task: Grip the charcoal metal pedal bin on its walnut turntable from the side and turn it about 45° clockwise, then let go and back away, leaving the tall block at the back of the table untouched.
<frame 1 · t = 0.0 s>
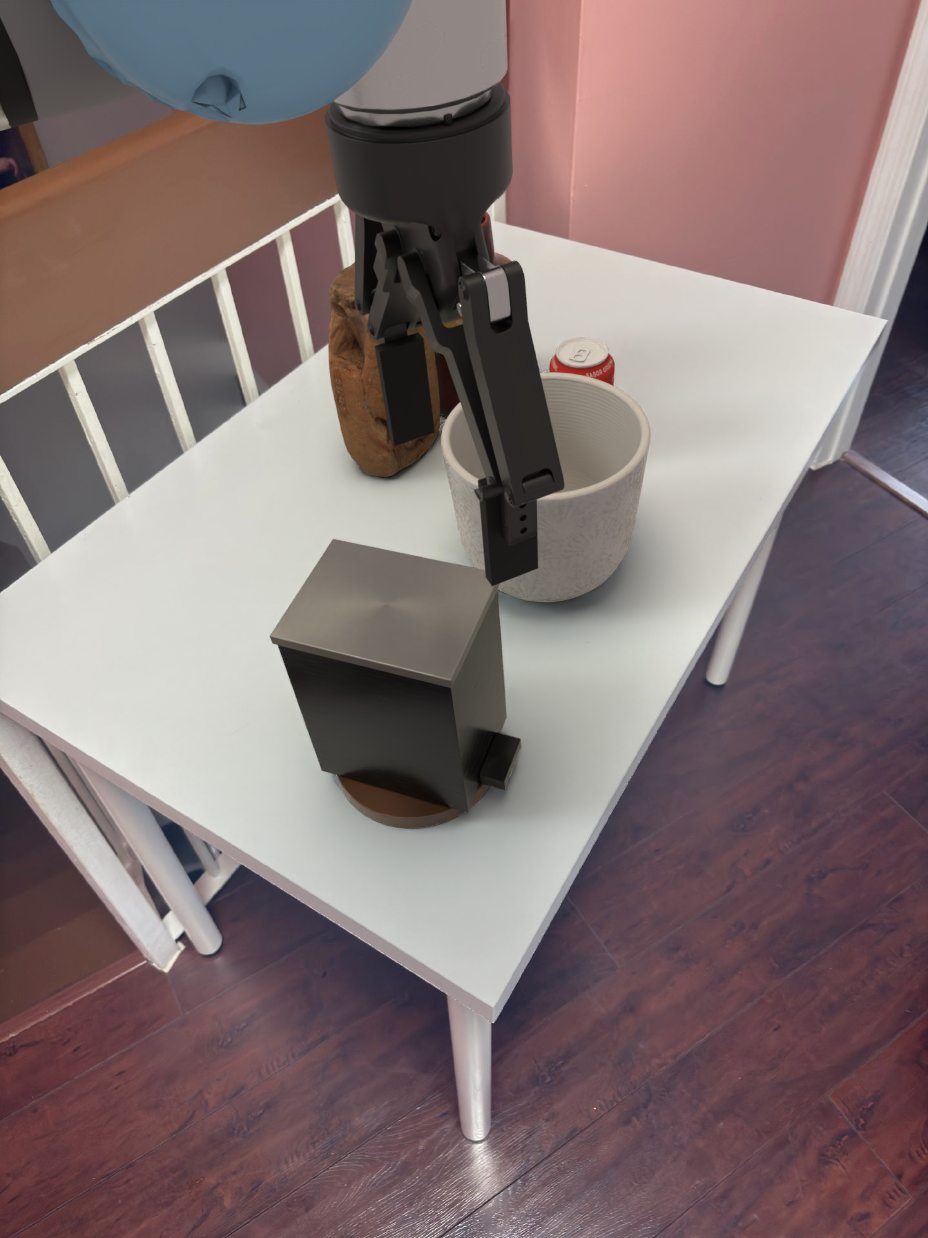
hand: (458, 499, 52), 26 cm above the table, tool pointing down, fingers open, 13 cm apart
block: (396, 453, 98), on the table
planter: (546, 564, 85), on the table
turntable: (417, 755, 72), on the table
beverage can: (579, 453, 96), on the table
vase: (476, 396, 104), on the table
bin: (414, 683, 65), point 10 cm above the table, hinge at 0.0°
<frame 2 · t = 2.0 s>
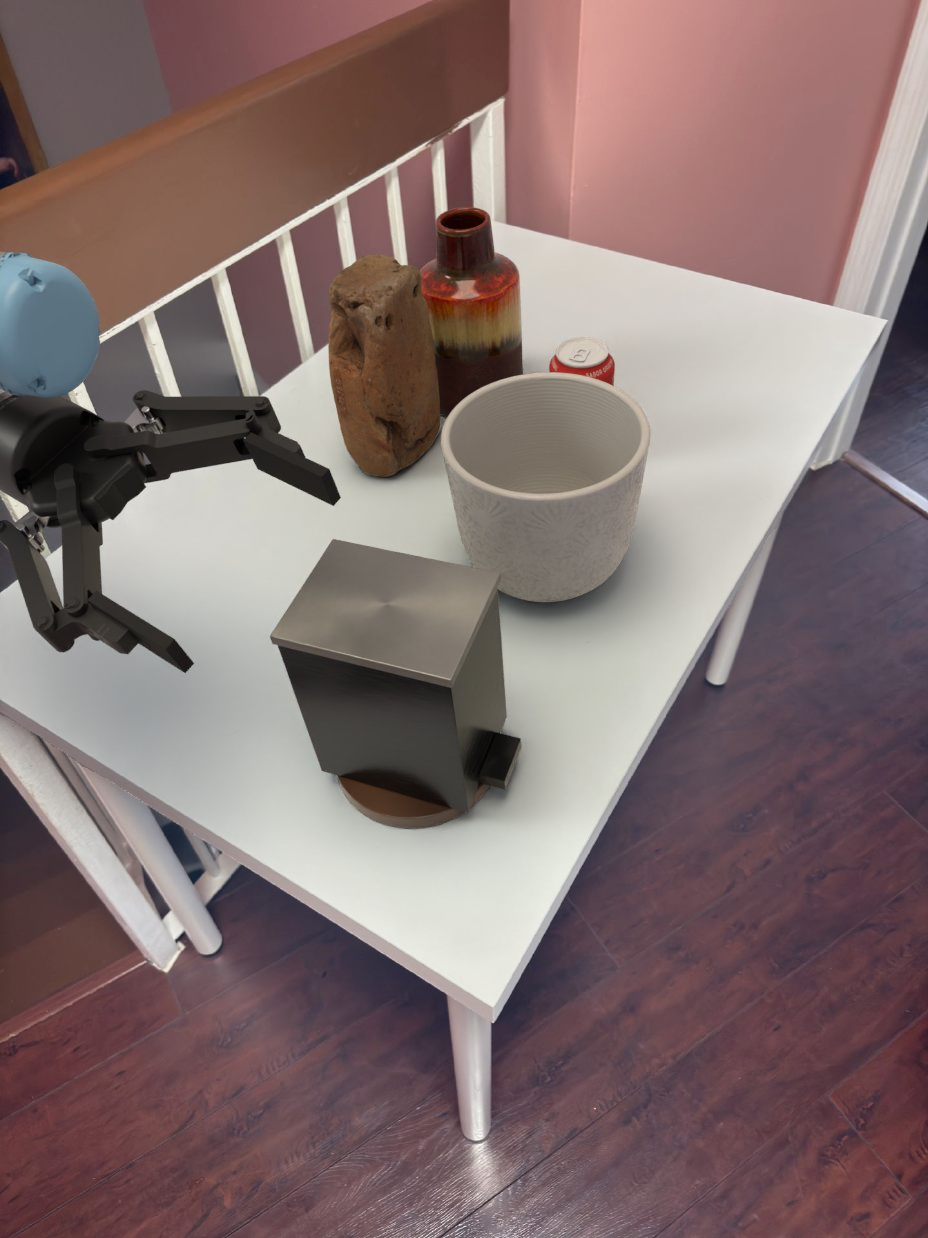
hand: (260, 568, 53), 24 cm above the table, tool horizontal, fingers open, 13 cm apart
nothing on the table moved.
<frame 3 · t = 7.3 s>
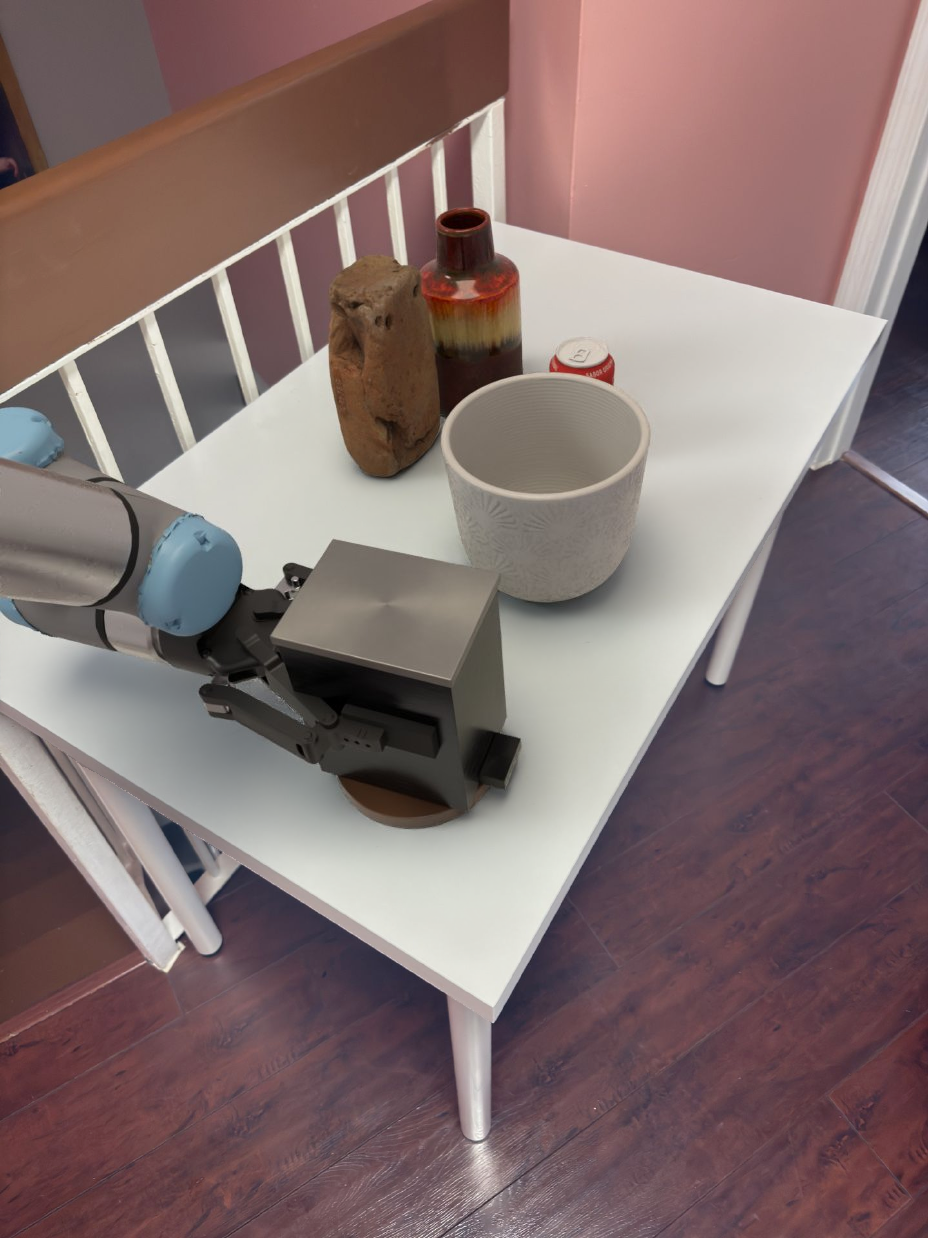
hand: (461, 687, 63), 10 cm above the table, tool horizontal, fingers closed on bin, 9 cm apart
bin: (414, 683, 65), point 10 cm above the table, hinge at 0.1°, touching gripper
everything else where it was.
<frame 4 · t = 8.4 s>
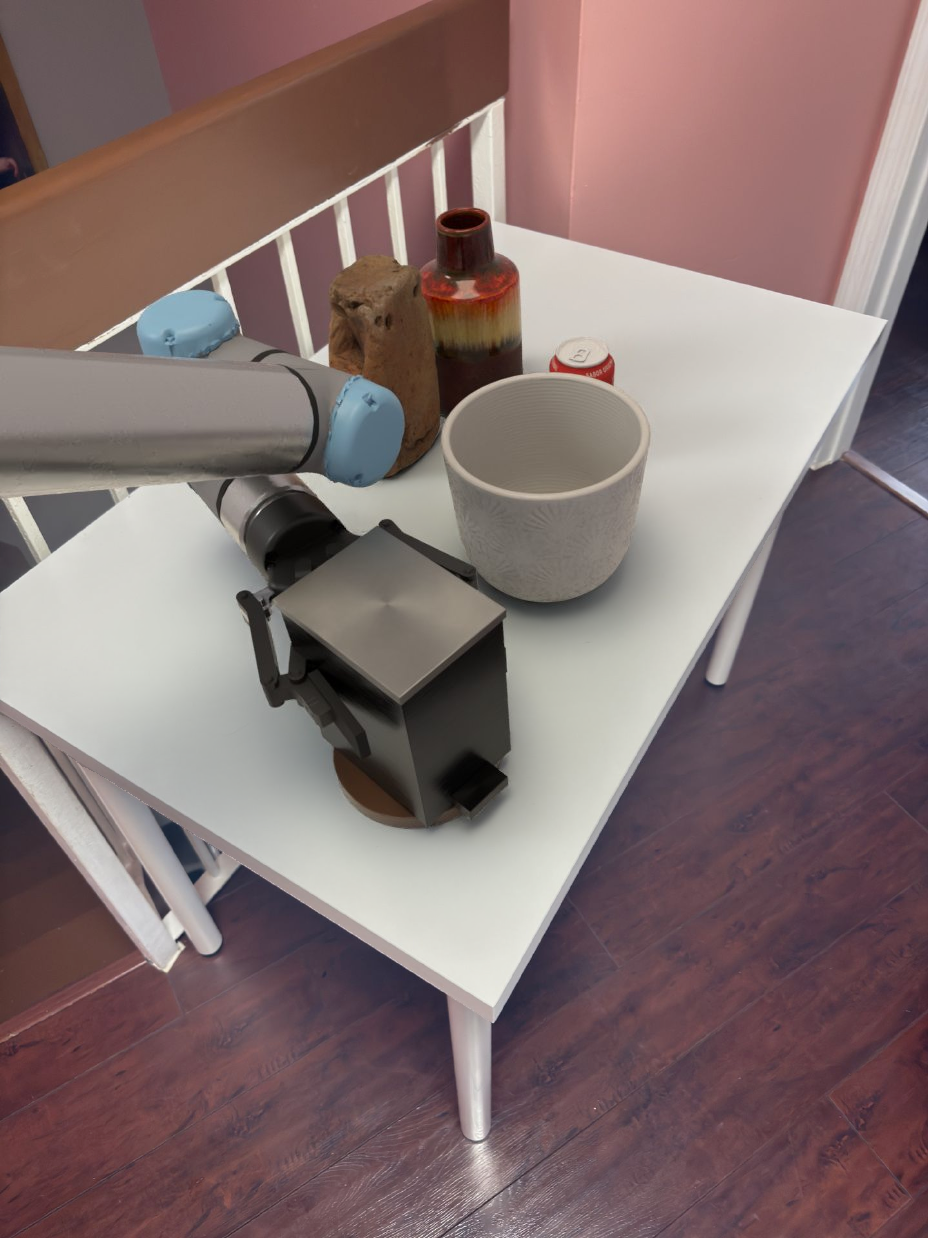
hand: (435, 703, 61), 11 cm above the table, tool horizontal, fingers closed on bin, 10 cm apart
bin: (411, 686, 64), point 10 cm above the table, hinge at -24.2°, touching gripper
everything else where it was.
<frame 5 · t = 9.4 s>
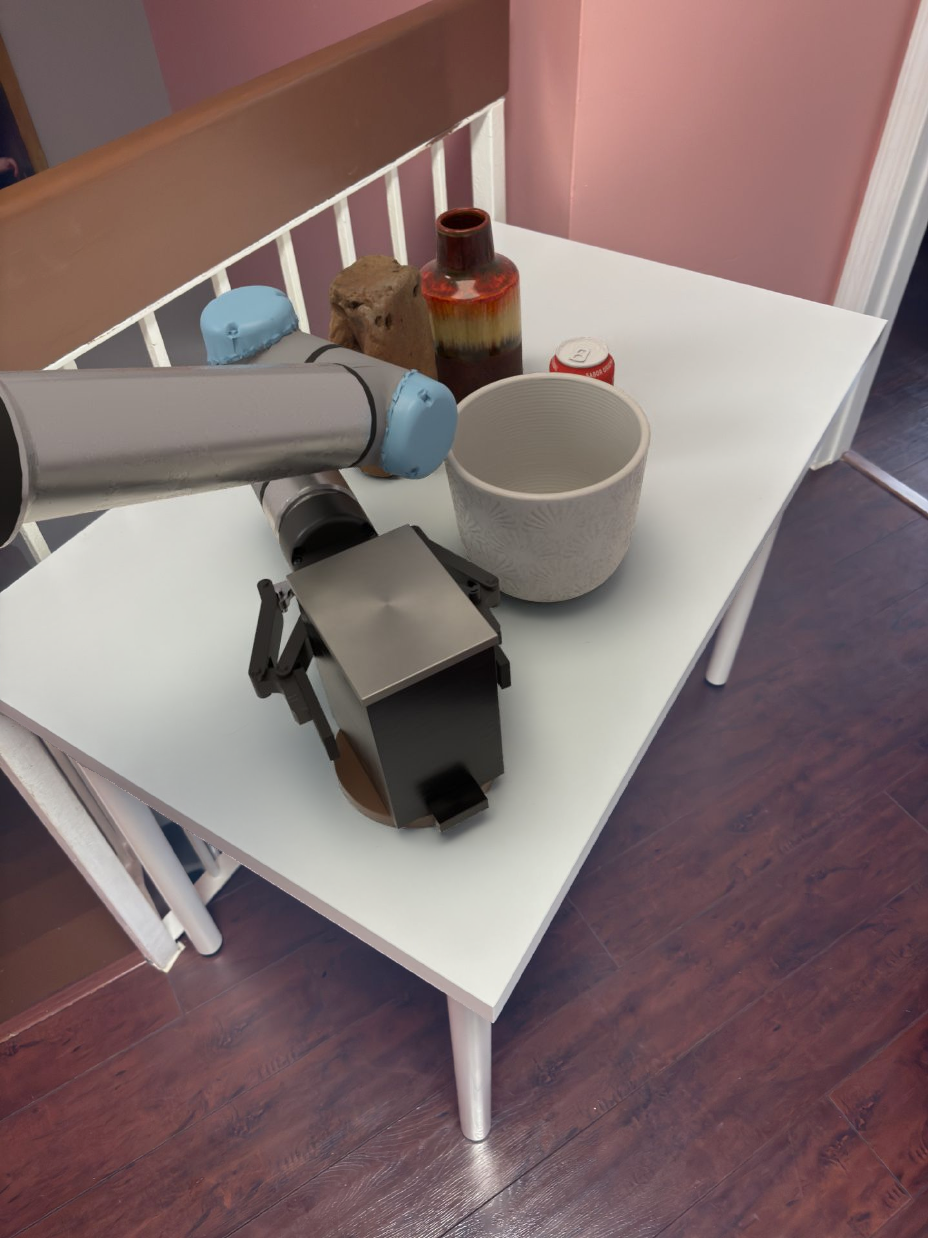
hand: (421, 711, 62), 10 cm above the table, tool horizontal, fingers open, 12 cm apart
bin: (408, 688, 64), point 10 cm above the table, hinge at -40.7°
everything else where it was.
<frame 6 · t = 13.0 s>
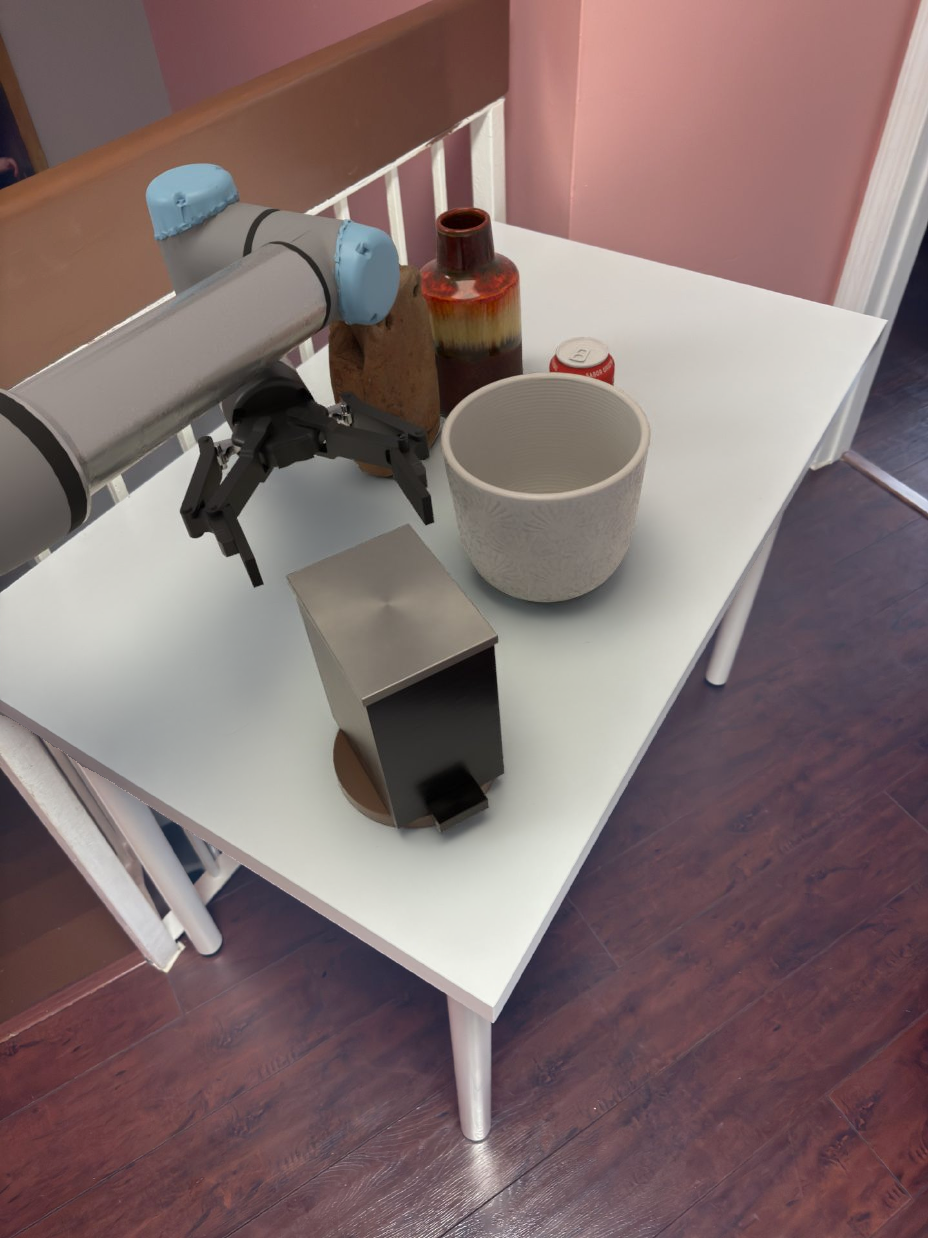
hand: (343, 541, 67), 15 cm above the table, tool horizontal, fingers open, 13 cm apart
nothing on the table moved.
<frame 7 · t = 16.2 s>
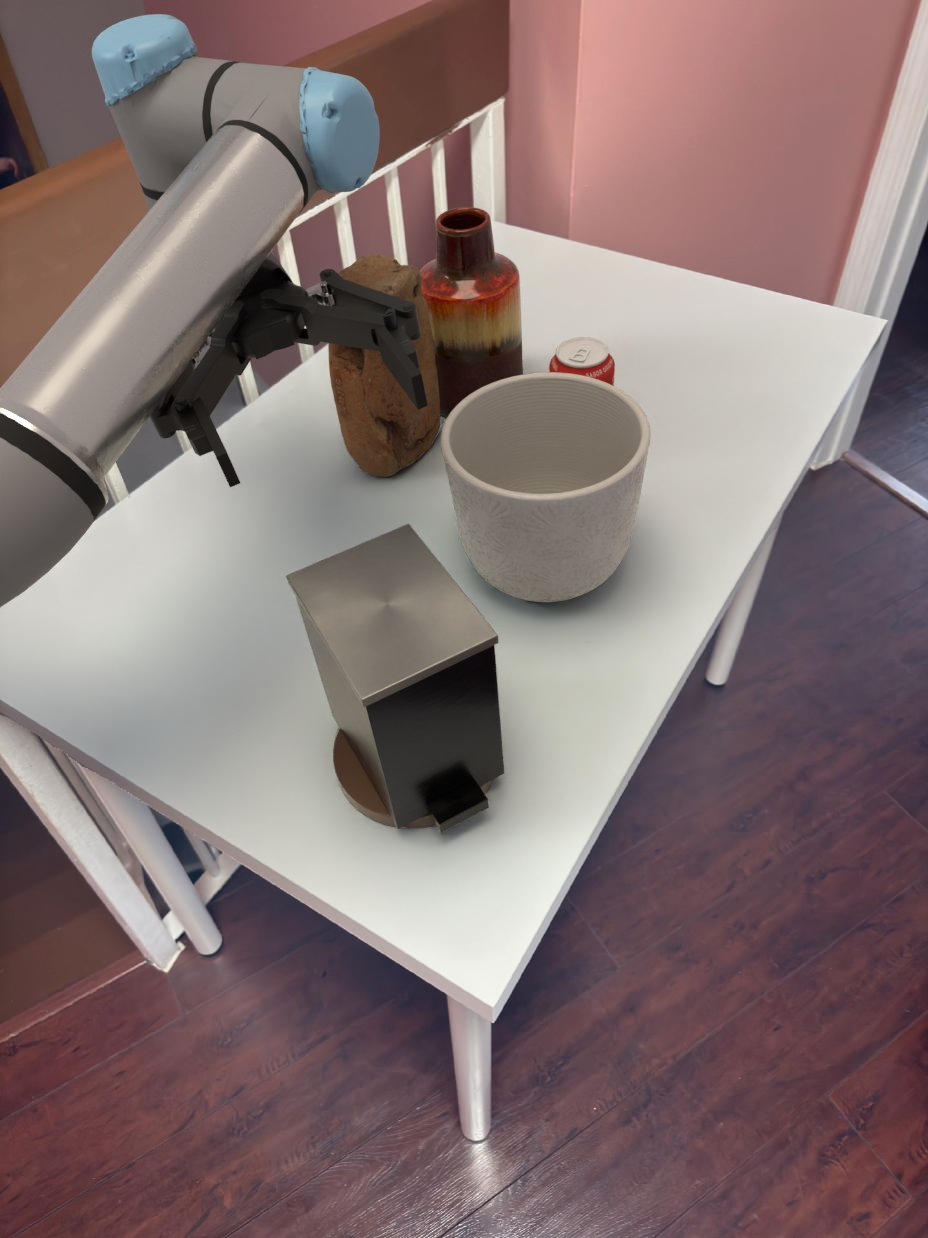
hand: (326, 431, 60), 25 cm above the table, tool horizontal, fingers open, 13 cm apart
nothing on the table moved.
at the end: bin at -41° (first picture: +0°); the gripper is holding nothing; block moved 0.2 cm from its start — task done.
